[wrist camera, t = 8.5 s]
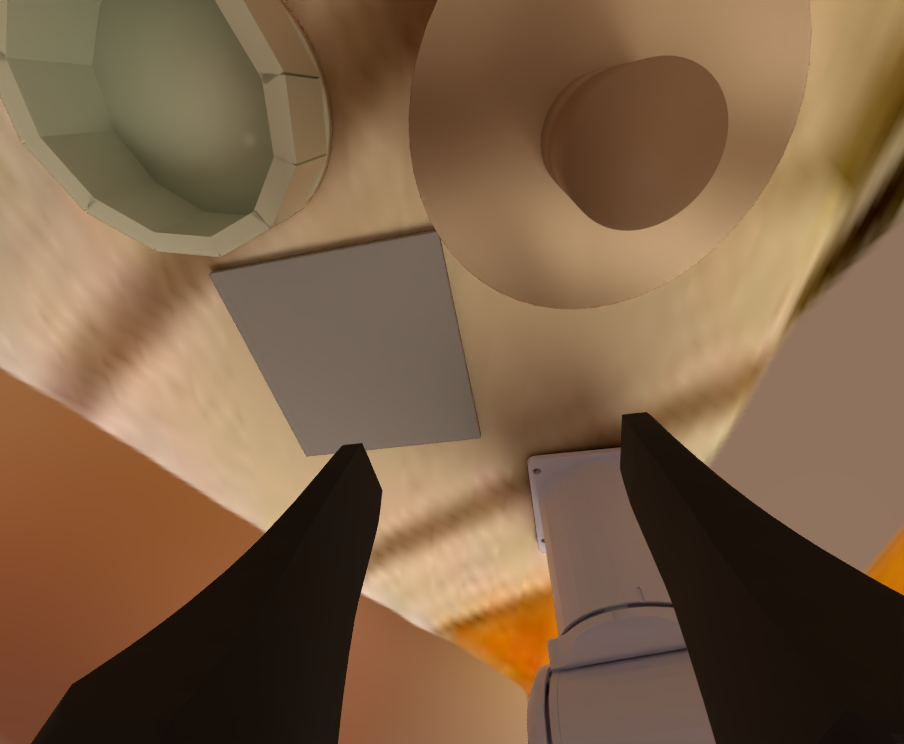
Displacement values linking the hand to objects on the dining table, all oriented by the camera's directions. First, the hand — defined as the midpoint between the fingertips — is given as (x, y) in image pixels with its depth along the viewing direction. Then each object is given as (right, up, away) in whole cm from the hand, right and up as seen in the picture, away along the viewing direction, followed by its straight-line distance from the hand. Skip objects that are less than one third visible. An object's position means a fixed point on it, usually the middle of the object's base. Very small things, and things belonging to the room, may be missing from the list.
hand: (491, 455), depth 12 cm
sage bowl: (-10, +13, +4) cm, 17 cm away
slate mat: (-6, +3, +10) cm, 12 cm away
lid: (+3, +9, +1) cm, 10 cm away
